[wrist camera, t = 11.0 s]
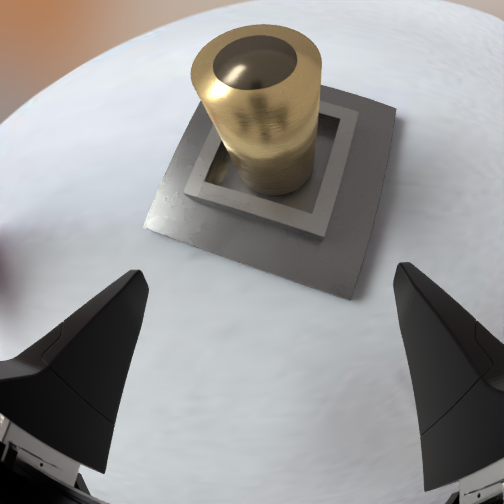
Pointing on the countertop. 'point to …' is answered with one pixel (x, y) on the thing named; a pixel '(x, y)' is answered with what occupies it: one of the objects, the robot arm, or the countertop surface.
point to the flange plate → (284, 198)
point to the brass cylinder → (263, 102)
